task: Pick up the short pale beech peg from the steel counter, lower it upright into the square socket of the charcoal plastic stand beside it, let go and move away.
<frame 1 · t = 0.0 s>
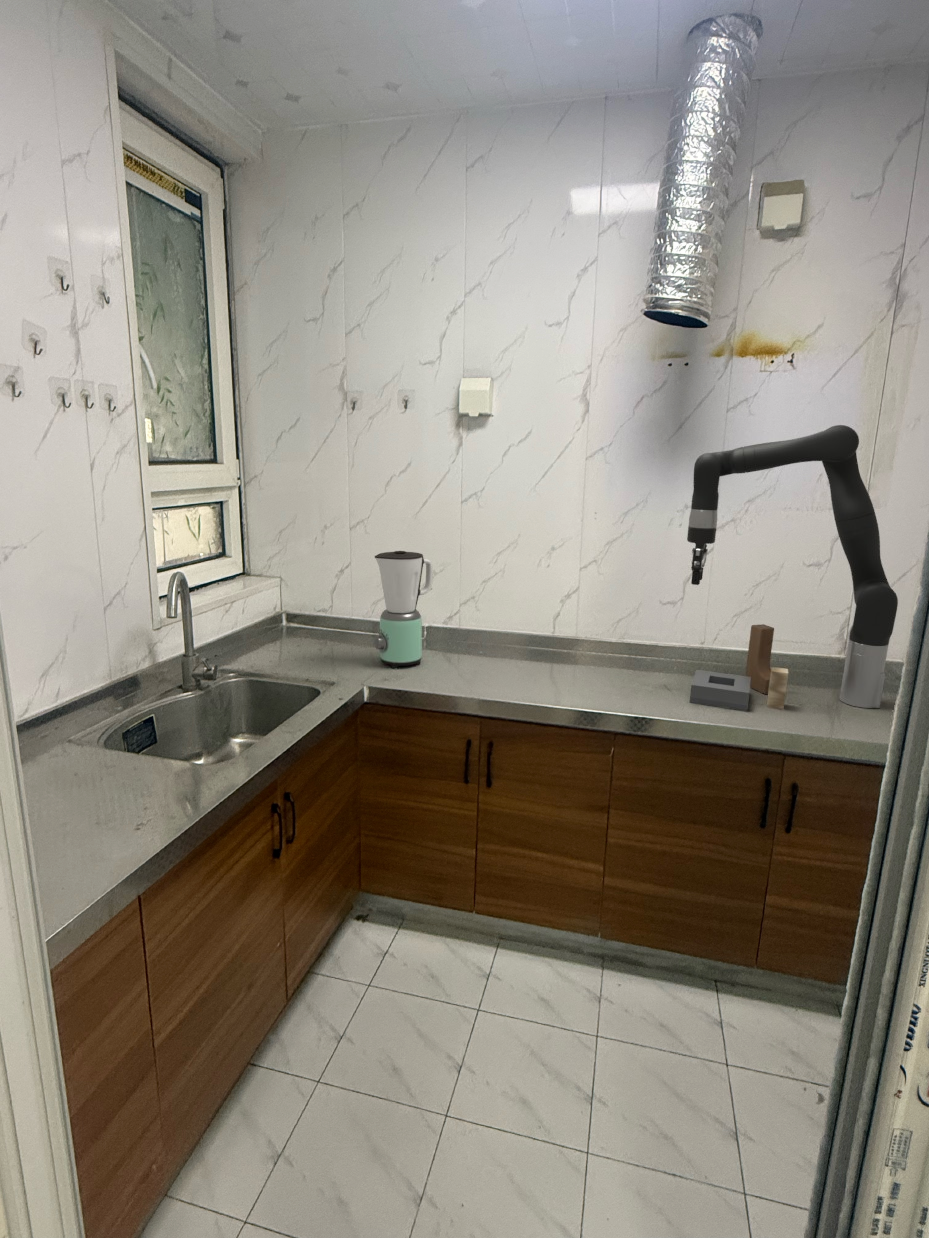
hand: (696, 582, 196), 29 cm above the worktop, tool pointing down, fingers open, 8 cm apart
socket stand: (719, 697, 187), on the worktop
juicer: (403, 663, 214), on the worktop
beech peg: (775, 705, 183), on the worktop
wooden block: (760, 689, 195), on the worktop
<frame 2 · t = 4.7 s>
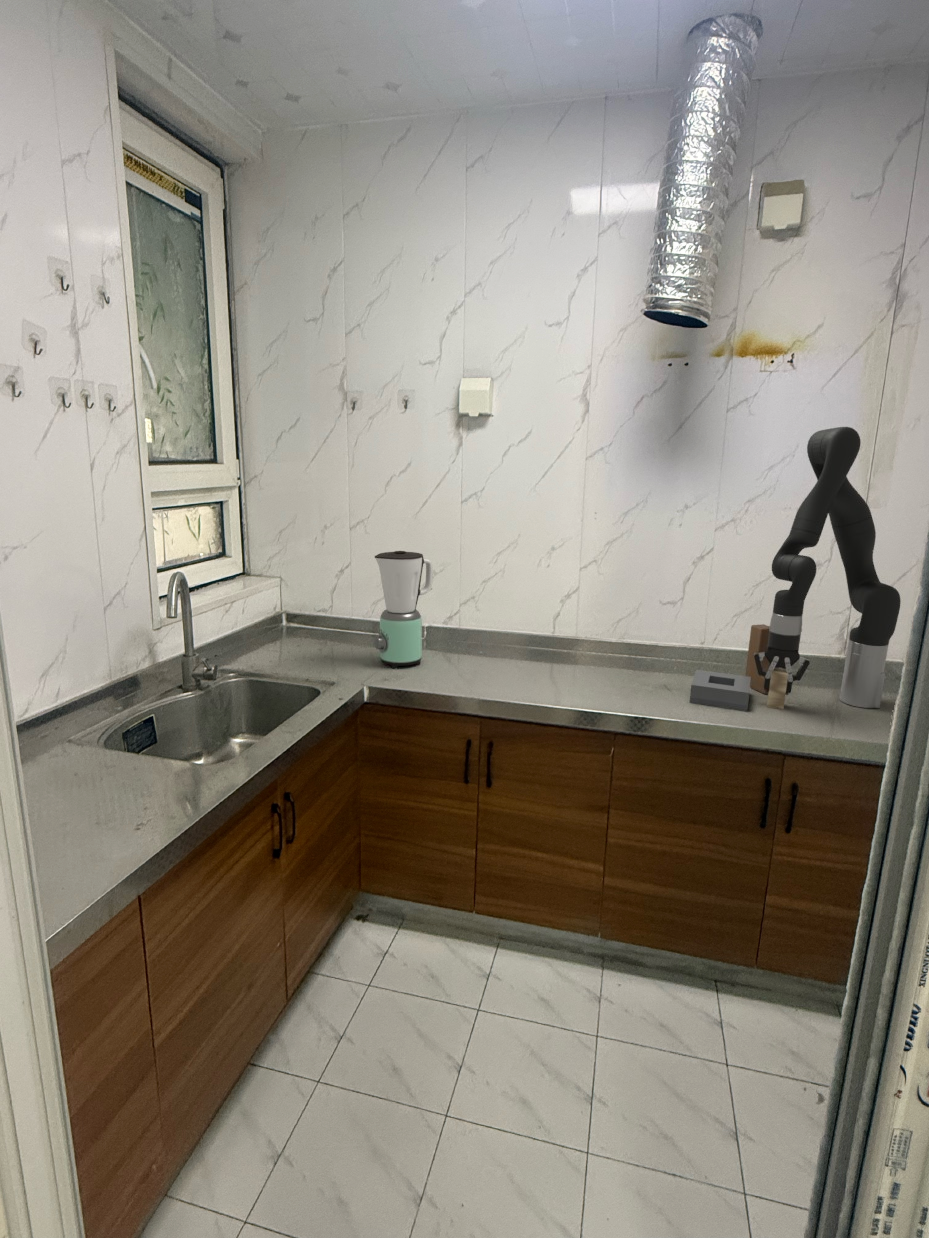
hand: (776, 692, 182), 4 cm above the worktop, tool pointing down, fingers closed on beech peg, 4 cm apart
beech peg: (775, 705, 183), on the worktop, touching gripper
everything else where it was.
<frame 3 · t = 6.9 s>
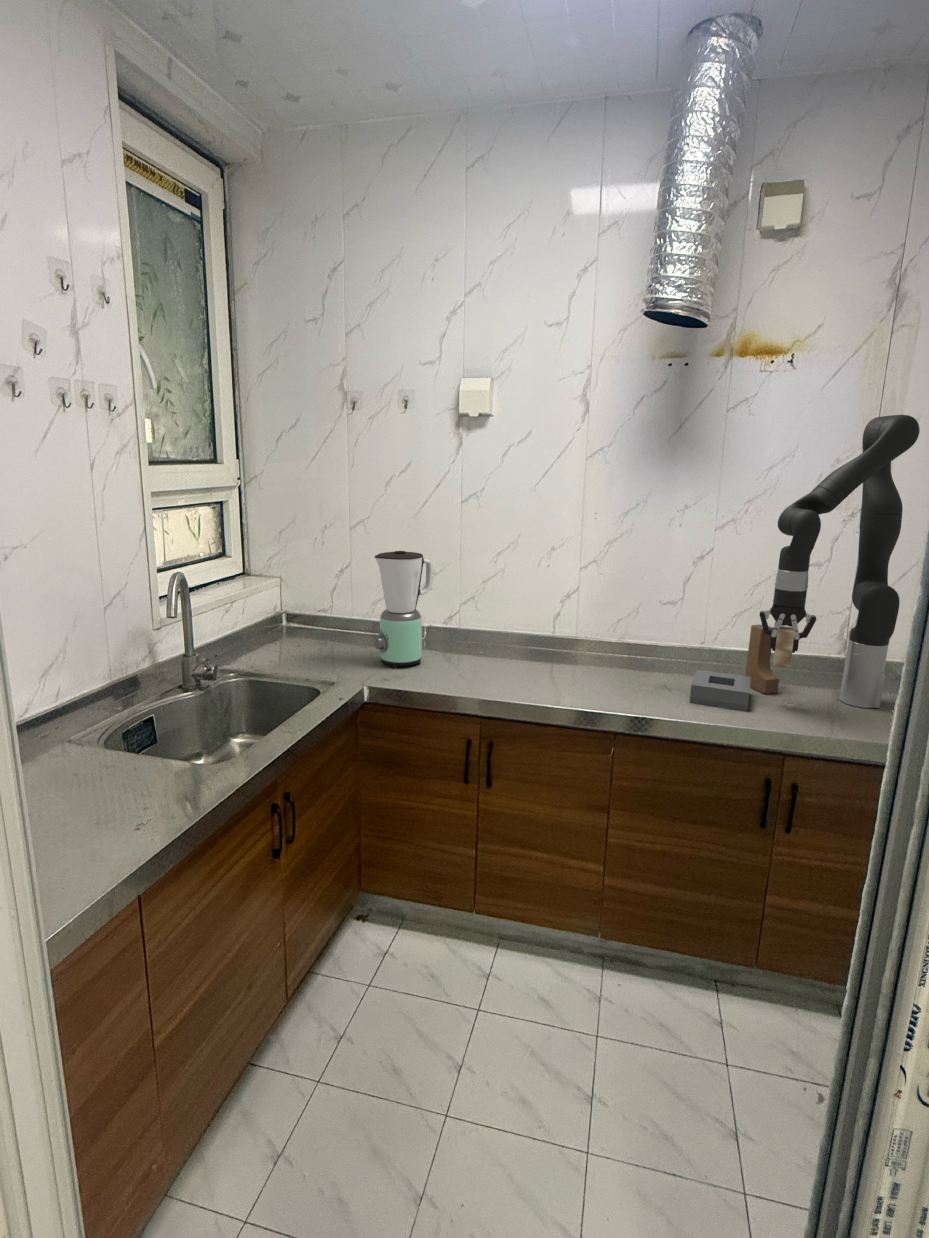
hand: (783, 651, 179), 15 cm above the worktop, tool pointing down, fingers closed on beech peg, 4 cm apart
beech peg: (781, 664, 180), point 11 cm above the worktop, touching gripper
everything else where it was.
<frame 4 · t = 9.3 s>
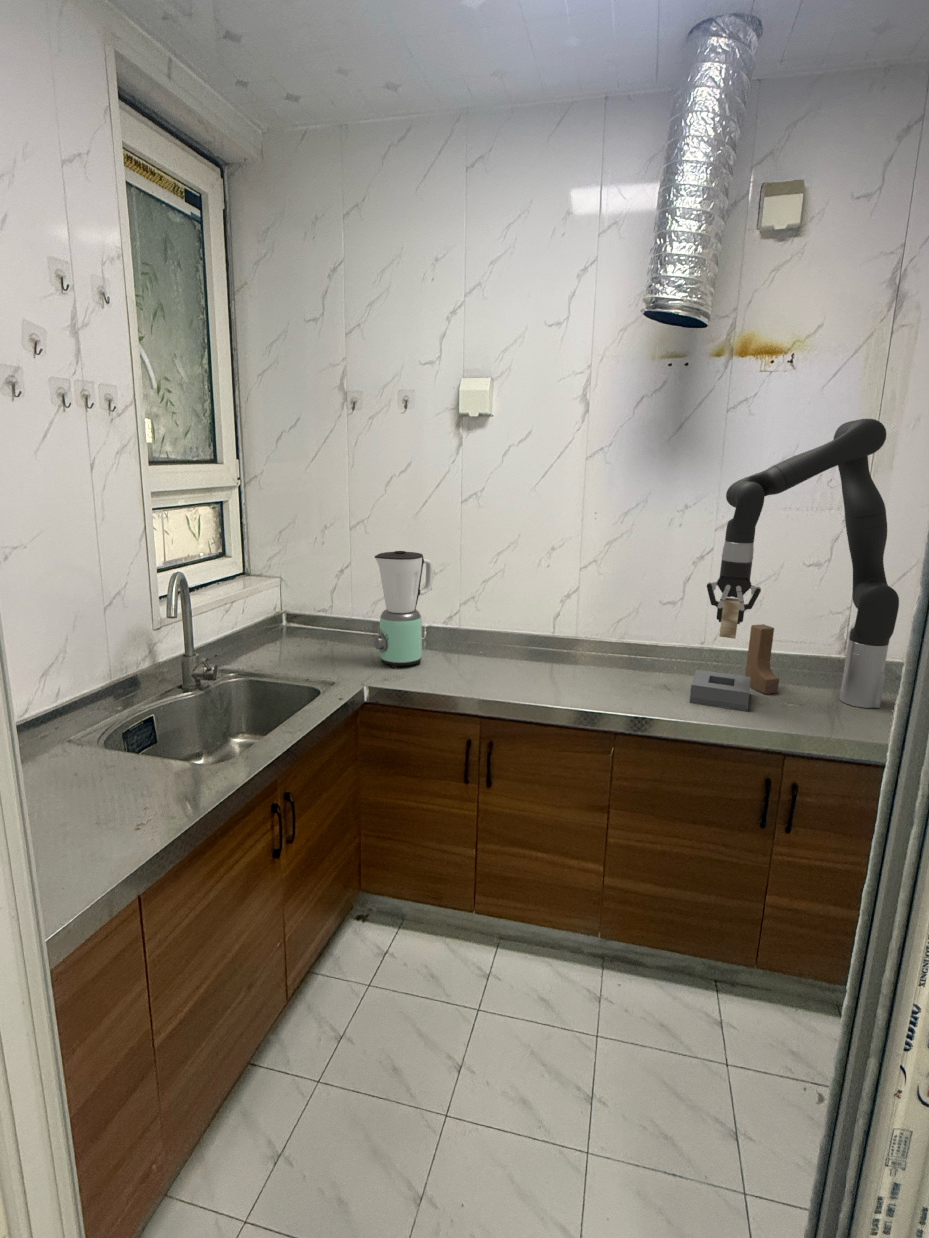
hand: (729, 622, 182), 22 cm above the worktop, tool pointing down, fingers closed on beech peg, 4 cm apart
beech peg: (727, 635, 183), point 18 cm above the worktop, touching gripper
everything else where it was.
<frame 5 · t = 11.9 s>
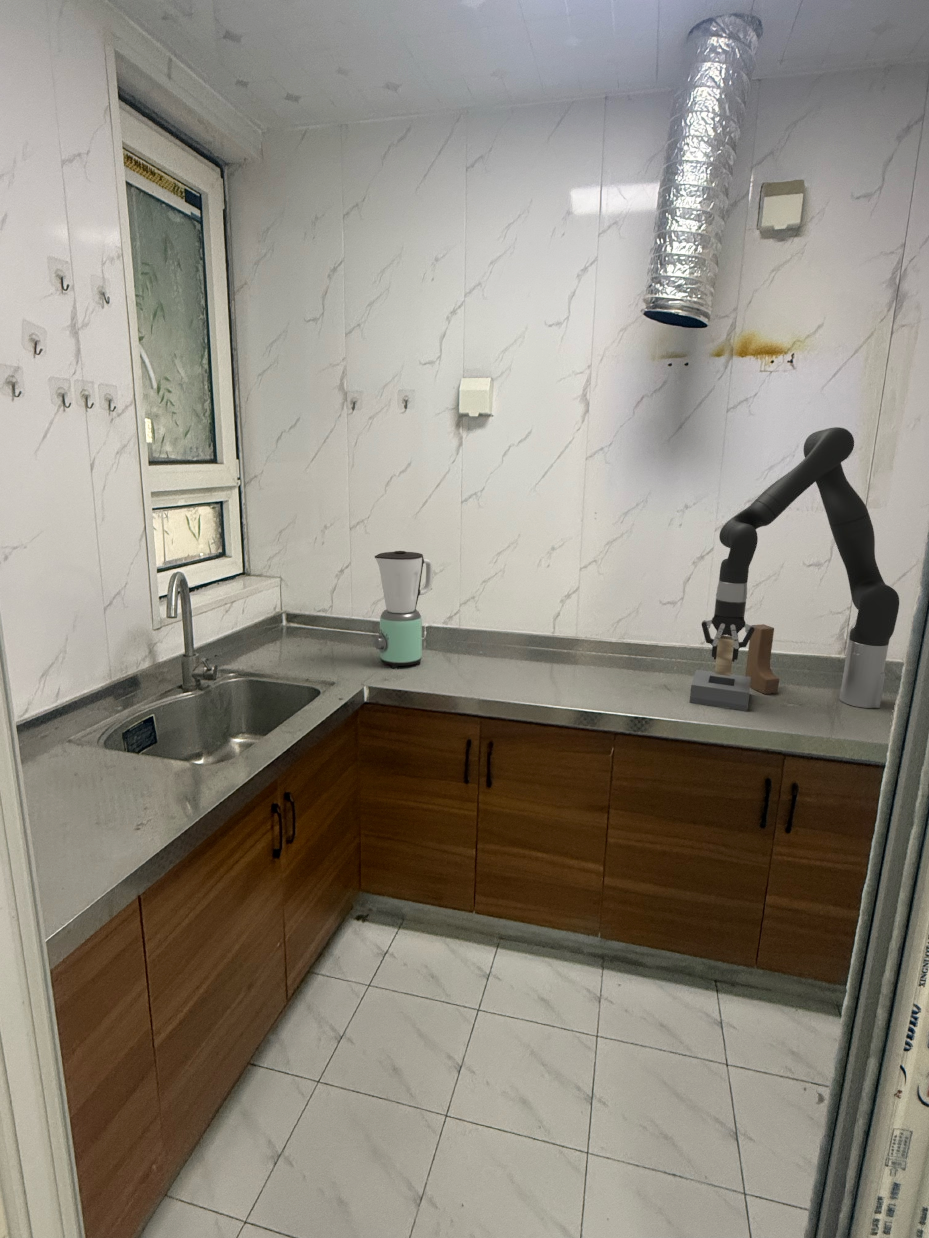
hand: (724, 659, 185), 11 cm above the worktop, tool pointing down, fingers closed on beech peg, 4 cm apart
beech peg: (722, 672, 186), point 7 cm above the worktop, touching gripper
everything else where it was.
when the fingers open (6 cm above the worktop, at t = 14.0 s): beech peg stays where it is, resting on socket stand.
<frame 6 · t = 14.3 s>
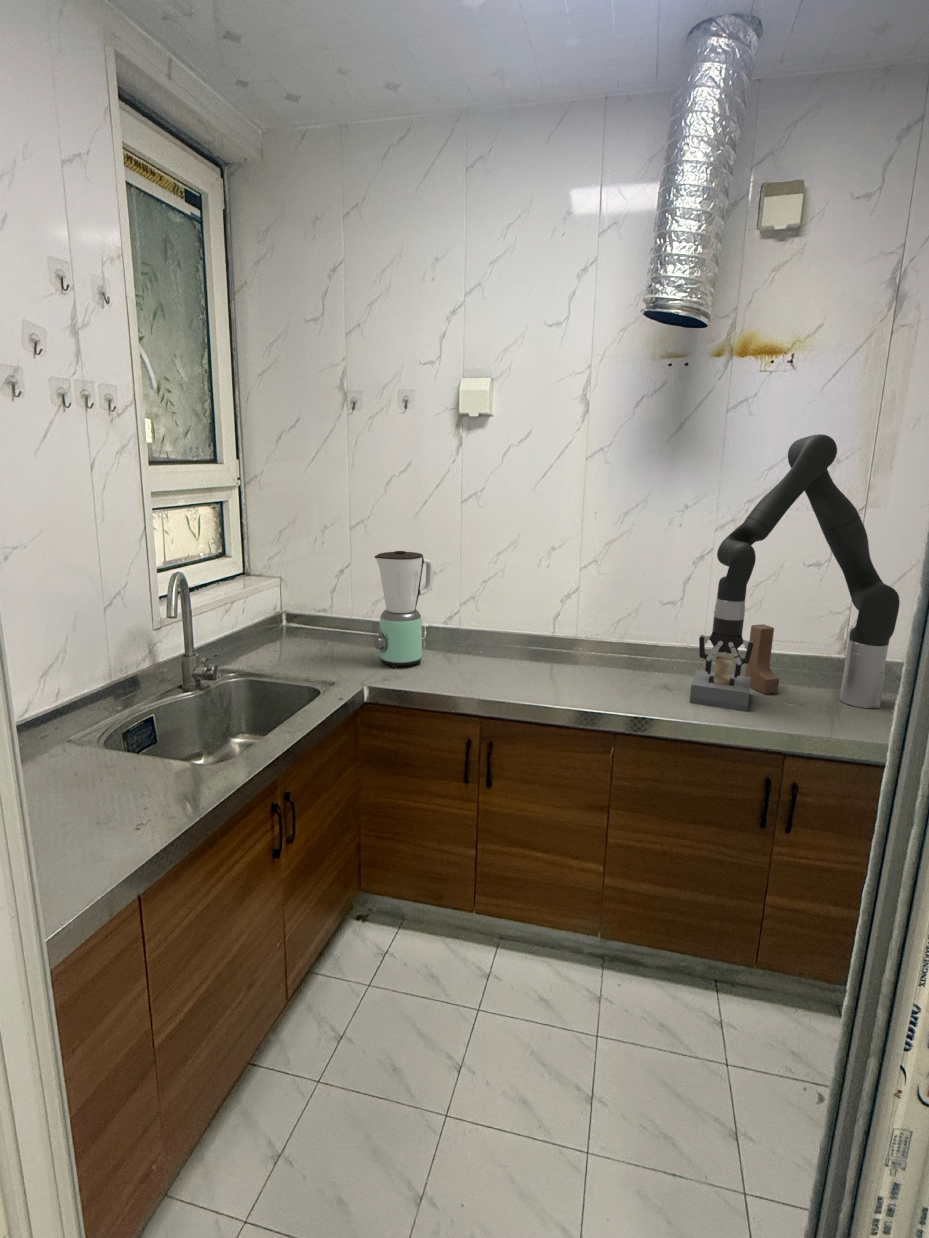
hand: (722, 675, 186), 7 cm above the worktop, tool pointing down, fingers open, 6 cm apart
beech peg: (720, 692, 187), point 1 cm above the worktop, touching socket stand
everything else where it was.
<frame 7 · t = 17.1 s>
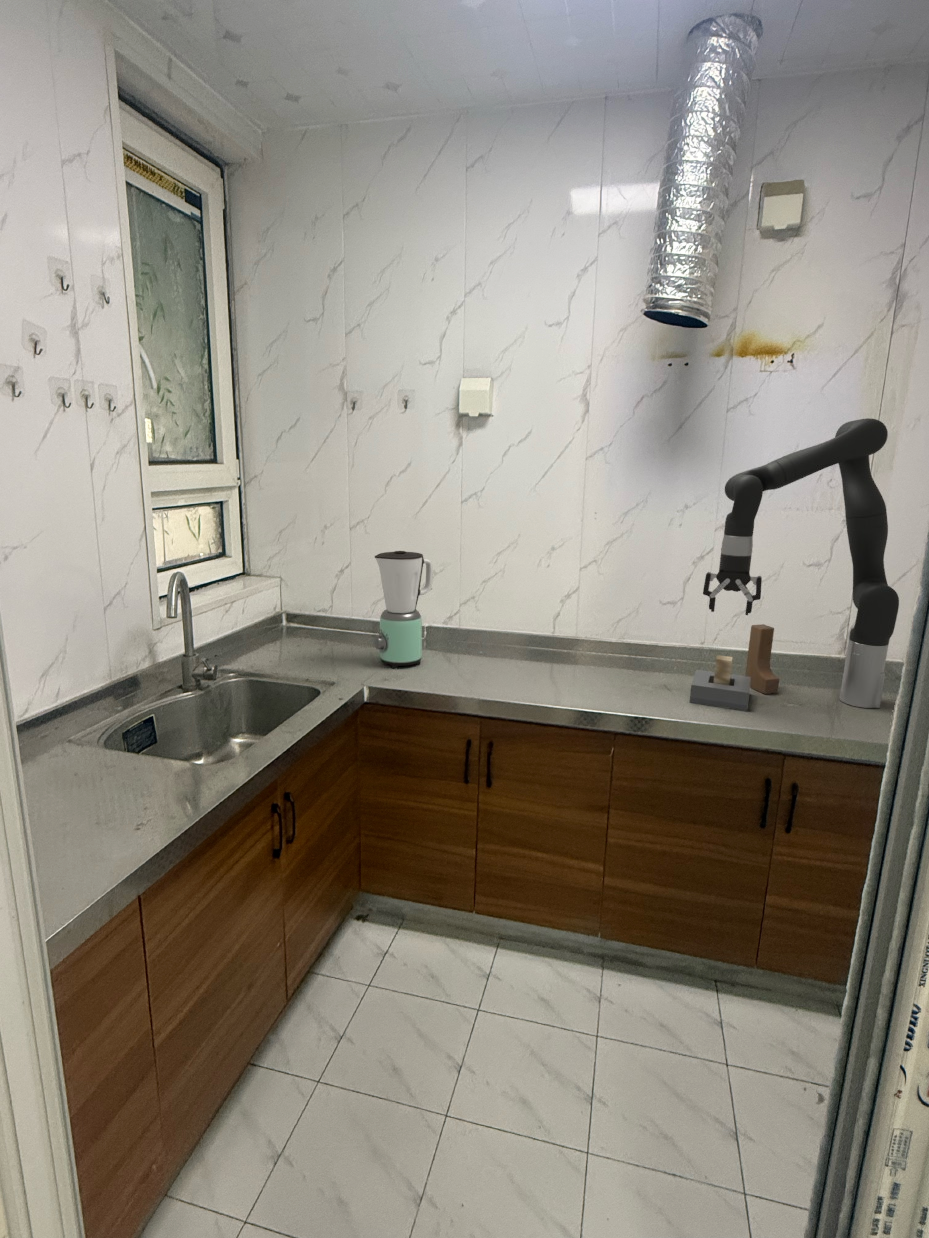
hand: (729, 613, 182), 24 cm above the worktop, tool pointing down, fingers open, 8 cm apart
nothing on the worktop moved.
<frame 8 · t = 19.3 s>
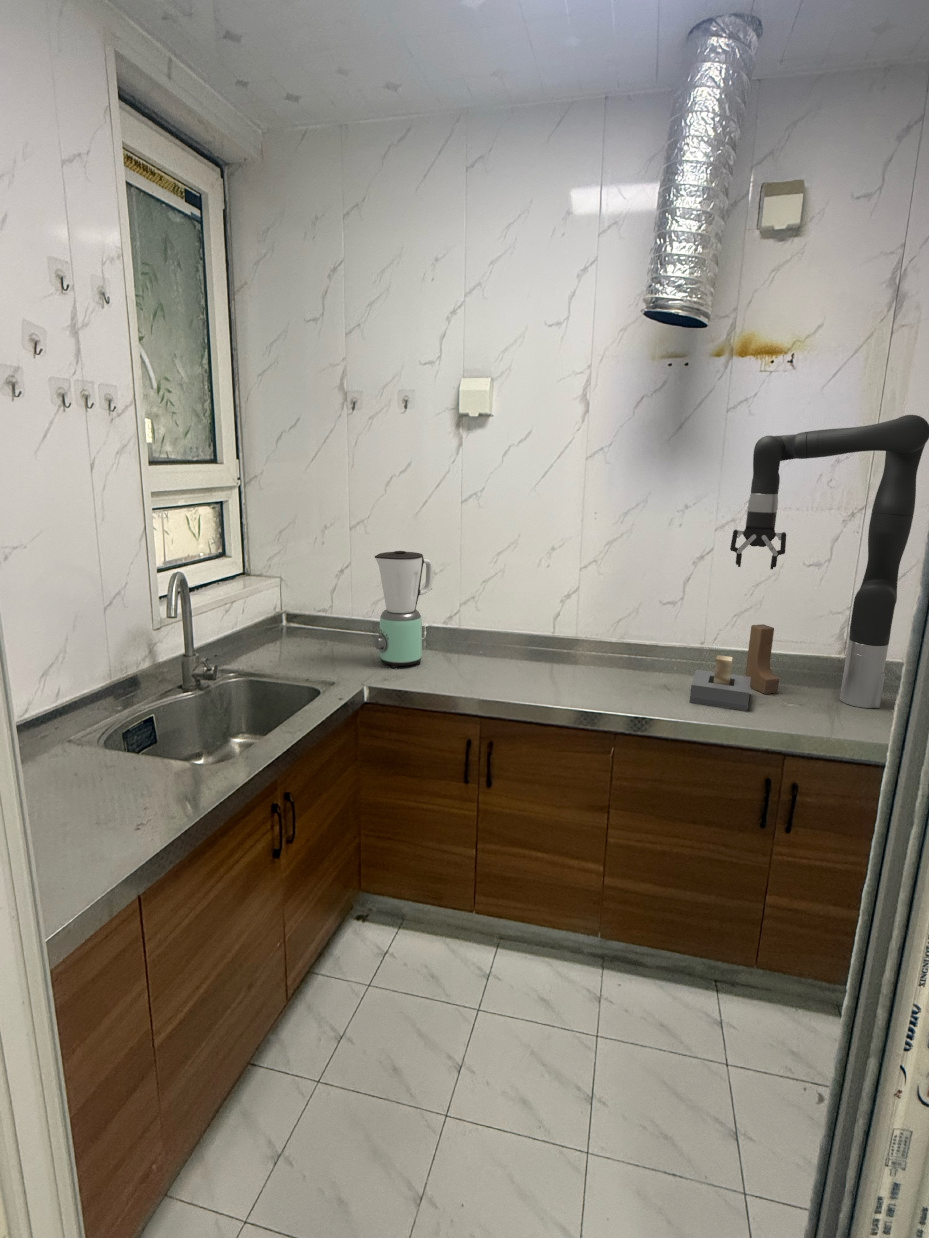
hand: (755, 567, 193), 34 cm above the worktop, tool pointing down, fingers open, 8 cm apart
nothing on the worktop moved.
at the end: beech peg 0.0 cm off-centre on the socket stand, point 1.5 cm above the socket stand's base; beech peg tilted 0°; the gripper is holding nothing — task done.
